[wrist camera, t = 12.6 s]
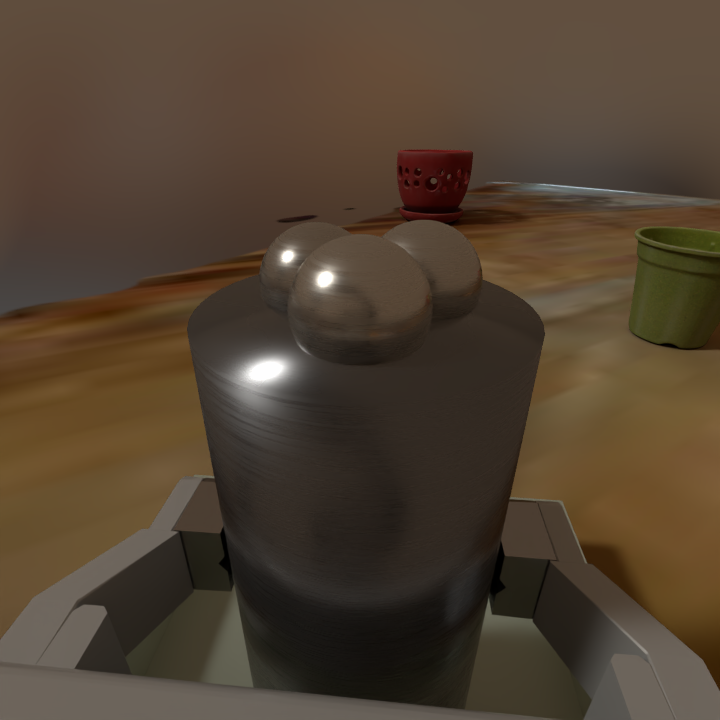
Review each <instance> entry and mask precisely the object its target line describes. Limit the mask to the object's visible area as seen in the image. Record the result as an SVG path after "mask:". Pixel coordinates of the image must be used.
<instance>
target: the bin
mask: <svg viewBox="0 0 720 720" xmlns="http://www.w3.org/2000/svg"><path fill="white" fill-rule="evenodd" d="M193 477H199V478H214V476H204V475H194V476H193ZM510 499H515V500H531V501H552V502H559V503H560V504H561V505H562V508H563V510H564V513H565V515H566V517H567V520H568V522H569V525H570V527H571V530H572V532H573V535H574V537H575V540H576V542H577V544H578V547H579V549H580V552H581V554H582V557H583V559H584V562H585V563H586V564H587V562H586V559H585V557H584V554H583V552H582V549H581V547H580V544H579V542H578V539H577V537H576V534H575V532H574V529H573V527H572V524H571V522H570V519H569V517H568V515H567V512H566V510H565V507H564V505H563V502H562V501H557V500H543V499H529V498H515V497H510ZM193 590H194V589H193ZM125 658H126V661H127V663H128V666H129V668H130V670H131V673H132V675H137V676H147V677H156V678H166V679H175V680H185V681H195V682H204V683H214V684H223V685H233V686H243V687H252V688H253V682H252V677H251V672H250V666H249V661H248V655H247V650H246V645H245V639H244V634H243V629H242V623H241V618H240V612H239V607H238V602H237V596H236V591H235V586H233V588H232V591H231V592H229V591H211V590H194V592H193V593H192V594H191V595H190V596H189V597H188V598H187V599H186V600H185V601H184V602H183V603H182V604H181V605H180V606H178V607H177V608H176V609H175V610H174V611H173V612H172V613H171V614H170V615H169V616H168V617H167V618H166V619H165V620H164V621H163V622H162V623H161V624H160V625H159V626H158V627H156V628H155V629H154V630H153V631H152V632H151V633H150V634H149V635H148V636H147V637H146V638H145V639H144V640H143V641H142V642H141V643H140V644H139V645H138V646H137V647H136V648H135V649H133V650H132V651H131V652H130V653H129V654H128V655H127V656H126V657H125ZM591 702H592V699H591V698H590V696H589V695H588V694H587V692H586V691H585V690H584V688H583V687H582V686H581V685H580V683H579V682H578V681H577V679H576V678H575V677H574V675H573V674H572V673H571V671H570V670H569V669H568V667H567V666H566V665H565V663H564V662H563V661H562V660H561V658H560V657H559V656H558V654H557V653H556V652H555V650H554V649H553V648H552V646H551V645H550V644H549V642H548V641H547V640H546V639H545V637H544V636H543V635H542V633H541V632H540V631H539V629H538V628H537V627H536V625H535V624H534V623H533V619H525V618H517V617H508V616H499V615H492V613H491V607H490V602H489V598H488V603H487V607H486V612H485V617H484V622H483V626H482V631H481V636H480V640H479V645H478V650H477V654H476V659H475V664H474V668H473V673H472V678H471V682H470V687H469V692H468V696H467V701H466V706H465V710H475V711H485V712H494V713H504V714H514V715H523V716H533V717H542V718H552V719H562V720H583V719H584V717H585V715H586V713H587V710H588V708H589V706H590V704H591Z"/></svg>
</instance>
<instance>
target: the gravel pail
mask: <svg viewBox="0 0 720 720" xmlns="http://www.w3.org/2000/svg"><path fill="white" fill-rule="evenodd" d="M187 331H188V338H189V344H190V349H191V354H192V360H193V365H194V370H195V376H196V381H197V387H198V392H199V397H200V403H201V408H202V413H203V419H204V424H205V430H206V435H207V440H208V446H209V451H210V457H211V462H212V467H213V473H214V478H215V483H216V489H217V494H218V500H219V505H220V510H221V516H222V521H223V526H224V532H225V537H226V543H227V548H228V553H229V559H230V564H231V569H232V575H233V580H234V586H235V591H236V596H237V602H238V607H239V612H240V618H241V623H242V629H243V634H244V639H245V645H246V650H247V655H248V661H249V666H250V672H251V677H252V682H253V688H262V689H272V690H281V691H291V692H301V693H310V694H320V695H330V696H339V697H349V698H359V699H369V700H378V701H388V702H398V703H407V704H417V705H427V706H436V707H446V708H456V709H465V706H466V701H467V696H468V692H469V687H470V682H471V678H472V673H473V668H474V664H475V659H476V654H477V650H478V645H479V640H480V636H481V631H482V626H483V622H484V617H485V612H486V607H487V603H488V598H489V593H490V589H491V584H492V579H493V575H494V570H495V565H496V561H497V556H498V551H499V547H500V542H501V537H502V533H503V528H504V523H505V519H506V514H507V509H508V504H509V500H510V495H511V490H512V486H513V481H514V476H515V472H516V467H517V462H518V458H519V453H520V448H521V444H522V439H523V434H524V430H525V425H526V420H527V416H528V411H529V406H530V401H531V397H532V392H533V387H534V383H535V378H536V373H537V369H538V364H539V359H540V355H541V350H542V345H543V341H544V336H545V332H544V325H543V323H542V321H541V319H540V317H539V315H538V314H537V313H536V311H535V310H534V309H533V308H532V307H531V306H530V305H529V304H528V303H526V302H525V301H524V300H523V299H521V298H520V297H518V296H516V295H515V294H513V293H512V292H510V291H508V290H506V289H504V288H502V287H500V286H497V285H495V284H492V283H490V282H488V281H485V280H483V277H482V268H481V264H480V260H479V257H478V255H477V253H476V251H475V249H474V247H473V246H472V244H471V243H470V242H469V240H468V239H467V238H466V237H465V236H464V235H463V234H462V233H460V232H459V231H458V230H456V229H455V228H453V227H451V226H449V225H447V224H444V223H441V222H438V221H433V220H414V221H410V222H406V223H403V224H401V225H398V226H396V227H395V228H393V229H391V230H390V231H388V232H387V233H386V234H384V235H383V236H382V237H378V236H374V235H366V234H354V235H352V234H351V233H349V232H348V231H346V230H344V229H343V228H340V227H338V226H336V225H332V224H329V223H323V222H309V223H303V224H300V225H297V226H294V227H292V228H290V229H288V230H287V231H285V232H284V233H283V234H281V235H280V236H279V237H278V238H276V239H275V240H274V242H273V243H272V244H271V245H270V247H269V248H268V250H267V252H266V253H265V256H264V258H263V261H262V265H261V269H260V274H259V275H256V276H252V277H249V278H246V279H244V280H241V281H238V282H235V283H233V284H231V285H229V286H227V287H225V288H222V289H221V290H219V291H217V292H216V293H214V294H212V295H211V296H209V297H208V298H207V299H205V300H204V301H203V302H202V303H201V304H200V305H199V306H198V307H197V308H196V309H195V310H194V312H193V314H192V315H191V317H190V319H189V323H188V327H187Z"/></svg>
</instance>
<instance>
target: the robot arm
mask: <svg viewBox="0 0 720 720" xmlns="http://www.w3.org/2000/svg"><path fill="white" fill-rule="evenodd" d="M233 586H234V580H233V575H232V569H231V564H230V559H229V553H228V548H227V543H226V537H225V532H224V526H223V521H222V516H221V510H220V505H219V500H218V494H217V489H216V483H215V478H199V477H189V476H185V477H183V478H182V479H180V480H179V482H178V483H177V485H176V486H175V488H174V490H173V491H172V493H171V494H170V496H169V498H168V499H167V501H166V502H165V504H164V505H163V507H162V509H161V510H160V512H159V513H158V515H157V517H156V518H155V520H154V521H153V523H152V524H151V526H150V528H149V529H141V530H140V531H138V532H136V533H135V534H133V535H132V536H130V537H128V538H127V539H125V540H124V541H122V542H121V543H119V544H117V545H116V546H114V547H113V548H111V549H109V550H108V551H106V552H105V553H103V554H102V555H100V556H98V557H97V558H95V559H94V560H92V561H90V562H89V563H87V564H86V565H84V566H82V567H81V568H79V569H78V570H76V571H75V572H73V573H71V574H70V575H68V576H67V577H65V578H63V579H62V580H60V581H59V582H57V583H56V584H54V585H52V586H51V587H49V588H48V589H46V590H44V591H43V592H41V593H40V594H38V595H37V596H35V597H33V599H32V600H31V601H30V603H29V604H28V605H27V606H26V608H25V609H24V610H23V611H22V613H21V614H20V615H19V617H18V618H17V619H16V620H15V622H14V623H13V624H12V626H11V627H10V628H9V629H8V631H7V632H6V633H5V635H4V636H3V637H2V638H1V640H0V720H562V719H552V718H542V717H533V716H523V715H514V714H504V713H494V712H485V711H475V710H465V709H456V708H446V707H436V706H427V705H417V704H407V703H398V702H388V701H378V700H369V699H359V698H349V697H339V696H330V695H320V694H310V693H301V692H291V691H281V690H272V689H262V688H252V687H243V686H233V685H223V684H214V683H204V682H195V681H185V680H175V679H166V678H156V677H147V676H137V675H132V673H131V670H130V668H129V666H128V663H127V661H126V658H125V657H126V656H127V655H128V654H129V653H130V652H131V651H132V650H133V649H135V648H136V647H137V646H138V645H139V644H140V643H141V642H142V641H143V640H144V639H145V638H146V637H147V636H148V635H149V634H150V633H151V632H152V631H153V630H154V629H155V628H156V627H158V626H159V625H160V624H161V623H162V622H163V621H164V620H165V619H166V618H167V617H168V616H169V615H170V614H171V613H172V612H173V611H174V610H175V609H176V608H177V607H178V606H180V605H181V604H182V603H183V602H184V601H185V600H186V599H187V598H188V597H189V596H190V595H191V594H192V593H193V592H194V590H211V591H229V592H231V591H232V588H233ZM193 589H194V590H193ZM489 602H490V607H491V613H492V615H499V616H508V617H517V618H525V619H533V623H534V624H535V625H536V627H537V628H538V629H539V631H540V632H541V633H542V635H543V636H544V637H545V639H546V640H547V641H548V642H549V644H550V645H551V646H552V648H553V649H554V650H555V652H556V653H557V654H558V656H559V657H560V658H561V660H562V661H563V662H564V663H565V665H566V666H567V667H568V669H569V670H570V671H571V673H572V674H573V675H574V677H575V678H576V679H577V681H578V682H579V683H580V685H581V686H582V687H583V688H584V690H585V691H586V692H587V694H588V695H589V696H590V698H591V699H592V702H591V704H590V706H589V708H588V710H587V713H586V715H585V717H584V719H583V720H720V691H719V689H718V687H717V685H716V683H715V681H714V680H713V678H712V676H711V674H710V672H709V670H708V669H707V667H706V665H705V663H704V661H703V660H702V659H701V658H700V657H699V656H698V655H696V654H695V653H694V652H693V651H692V650H691V649H690V648H688V647H687V646H686V645H685V644H684V643H683V642H682V641H680V640H679V639H678V638H677V637H676V636H675V635H673V634H672V633H671V632H670V631H669V630H668V629H667V628H665V627H664V626H663V625H662V624H661V623H660V622H658V621H657V620H656V619H655V618H654V617H653V616H652V615H650V614H649V613H648V612H647V611H646V610H645V609H644V608H642V607H641V606H640V605H639V604H638V603H637V602H635V601H634V600H633V599H632V598H631V597H630V596H629V595H627V594H626V593H625V592H624V591H623V590H622V589H621V588H619V587H618V586H617V585H616V584H615V583H614V582H612V581H611V580H610V579H609V578H608V577H607V576H606V575H604V574H603V573H602V572H601V571H600V570H599V569H597V568H596V567H595V566H594V565H593V564H586V563H585V562H584V559H583V557H582V554H581V552H580V549H579V547H578V544H577V542H576V540H575V537H574V535H573V532H572V530H571V527H570V525H569V522H568V520H567V517H566V515H565V513H564V510H563V508H562V505H561V504H560V503H559V502H552V501H531V500H515V499H510V500H509V504H508V509H507V514H506V519H505V523H504V528H503V533H502V537H501V542H500V547H499V551H498V556H497V561H496V565H495V570H494V575H493V579H492V584H491V589H490V593H489Z"/></svg>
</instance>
